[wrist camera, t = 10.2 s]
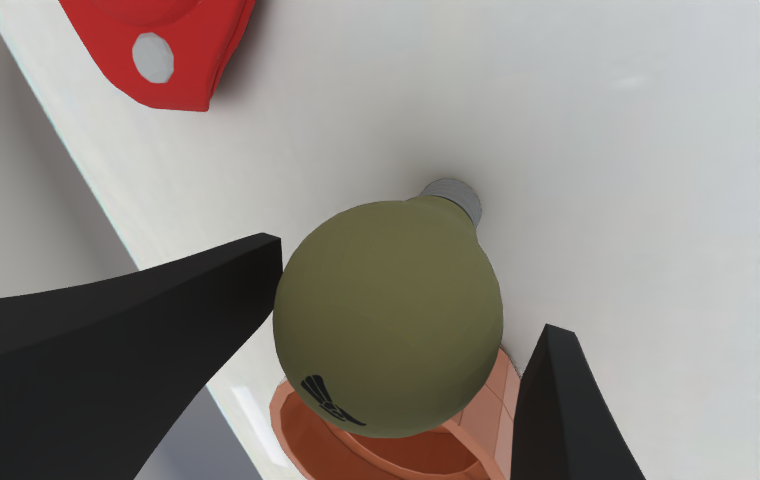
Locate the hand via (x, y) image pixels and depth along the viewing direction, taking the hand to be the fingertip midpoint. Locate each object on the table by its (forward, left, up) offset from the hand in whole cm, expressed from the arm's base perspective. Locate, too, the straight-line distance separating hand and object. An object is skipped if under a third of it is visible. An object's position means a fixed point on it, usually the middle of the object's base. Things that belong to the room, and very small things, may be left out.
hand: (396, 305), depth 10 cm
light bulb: (0, 0, -7) cm, 7 cm away
